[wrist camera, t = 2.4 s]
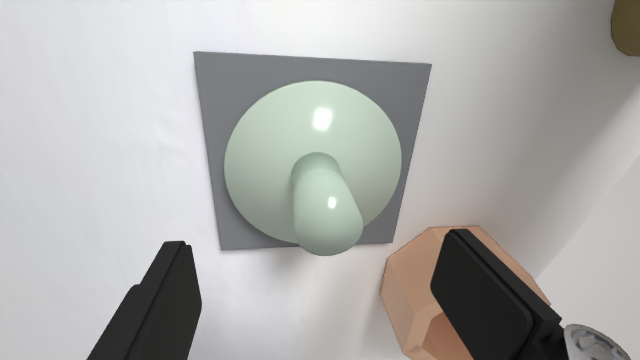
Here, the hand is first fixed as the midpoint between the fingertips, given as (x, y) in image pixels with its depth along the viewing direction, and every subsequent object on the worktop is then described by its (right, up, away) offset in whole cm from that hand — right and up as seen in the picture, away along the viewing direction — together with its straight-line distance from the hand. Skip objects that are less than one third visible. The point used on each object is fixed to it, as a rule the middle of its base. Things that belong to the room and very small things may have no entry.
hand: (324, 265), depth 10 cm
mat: (-1, +4, +7) cm, 8 cm away
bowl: (+10, -5, +13) cm, 17 cm away
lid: (-1, +4, +6) cm, 7 cm away
